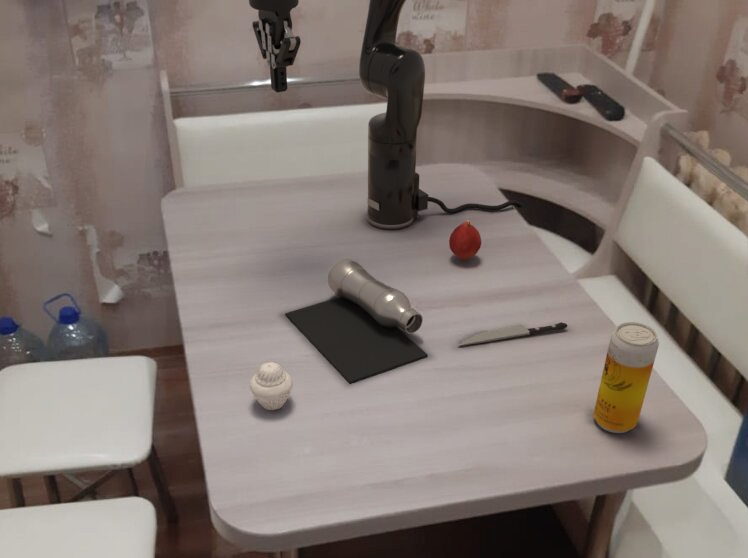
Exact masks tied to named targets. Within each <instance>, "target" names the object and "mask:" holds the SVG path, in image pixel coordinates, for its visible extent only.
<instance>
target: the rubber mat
mask: <svg viewBox="0 0 748 558" xmlns="http://www.w3.org/2000/svg"><path fill="white" fill-rule="evenodd" d="M284 314H285V317H286V318H288V320H289V321H290V322H291V323H292V324H293V325H294V327H296V328H297V329H298V330H299V331H300V332H301V333H302V335H304V337H305V338H306V339H307V341H309V342H310V343H311V344H312V346H314V347H315V348H316V349H317V351H318V352H319V353H320V354H321V355H322V356H323V357H324V358H325V359H326V361H328V362H329V363H330V364H331V366H332V367H333V368H334V369H335V370H336V371H337V372H338V373H339V374H340V375H341V376H342V377H343V378H344V379H345V380H346V382H347V383H348V384H353V383H357V382H359V381H362V380H364V379H368V378H371V377H373V376H377V375H379V374H381V373H384V372H388V371H390V370H393V369H397V368H399V367H402V366H404V365H407V364H411V363H413V362H417V361H419V360H421V359H424V358H427V357H428V353H427V352H426V351H425V350H423V349H422V348H421V347H420V346H419V345H418V344H417V343H415V342H414V341H413V339H411V338H410V337H409V336H408V335H407V334H406V333H405V332H403V330H401V329H400V328H399V327H396V328H388V327H384V326H381V325H380V324H379V323H378V322H377V321H376V320H375V319H374V318H373V317H372V316H371V315H370V314H369V313H368V312H366V311H365V310H364V309H363V308H361V307H360V306H359V305H357V304H356V303H354V302H352V301H350V300H348V299H345V298H343V297H340V296H338V297H335V298H331V299H327V300H325V301H322V302H319V303H314V304H312V305H308V306H305V307H301V308H298V309H295V310H292V311H287V312H285V313H284Z"/></svg>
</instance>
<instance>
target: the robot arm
mask: <svg viewBox="0 0 748 558" xmlns="http://www.w3.org/2000/svg"><path fill="white" fill-rule="evenodd" d="M406 2H407V0H369V3H368V10H367V16H366V22H365V28H364V34H363V39H362V40H363V41H362V44H361V50H360V56H359V64H358V70H359V71H358V76H359V82H360V84H361V87H362V88H363V90H364V91H365V92H367V93H369V94H371V95H373V96H376V97H379V98H382V99H386V111H385V112H382V113H378V114H376V115H373V116H372V117H371V118H370V119H369V120H368V123H367V212H366V213H367V214H366V220H367V222H368V223H369V224H370V225H372V226H373V227H376V228H379V229H382V230H383V229H384V230H398V229H404V228H406V227H409V226H410V225H412V224H413V223H414V221H418V220H419V219H418V217H419V212H421V211H426V210H428V208H429V207H428V206H429V202H430V203H433V204H436V205H438V206H439V207H440V209H441V210H442V211H443V212H444V213H447V214H457V213H459V212H462V211H464V210H468V209H474V210H475V209H476V210H482V211H495V212H496V211H502V210H503V209H506V208H508V207H511V206H516V207H517V208H520V209H521V208H524V205H523V204H522V203H521V202H520V201H518V200H516V199H512V200H507V201H506V202H504V203H501V204H498V205H489V204H482V203H472V202H471V203H465V204H462V205H459V206H456V207H454V208H448V207H447V205H446V204H445V203H444V202H443V200H441V199H438V198H436V197H432V196H429V194H428V193H427V192H425V191H424V190H422V189H420V174H419V173H418V172H417V171H416V167H417V165H416V164H417V141H418V128H419V125H420V122H421V118H422V115H423V114H422V113H423V104H424V93H425V83H426V65H425V60H424V58H423V56H422V54H421V53H420V52H419V51H417V50H416V49H414V48H411V47H407V46H403V45H399V44H397V43H396V42H397V33H398V25H399V20H400V16H401V14H402V10H403V7H404V6H405V3H406ZM248 4H249V6H250V8H252V9H254V10H256V11H258V13H257V16H258V20H256V21H252V30H253V33H254V36H255V38H256V41H257V44H258V48H259V51H260V54H261V56H262V59H263V60H266V63H267V66H268V67H269V74H270V75H269V76H270V88H271V90H273V91H274V92H275V93H283V92H286V91H287V90H288V76H287V75H288V73H287V68H288V67H291V66H293V65H294V63H295V61H296V58H297V54H298V52H299V49H300V46H301V41H302V40H301V37H300V36H299V35H298V36H297V35H296V36H294V33H293V21H292V16H291V11H292V10H293V9H294V8H297V7H298V5H299V0H248Z"/></svg>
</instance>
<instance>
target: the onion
mask: <svg viewBox="0 0 748 558" xmlns="http://www.w3.org/2000/svg"><path fill="white" fill-rule="evenodd" d="M481 237H482V236H481V234H480V232H479V230H478V229H477V228H476V227H475V226H474V225H472V224H471V220H469V219H468V220H465V221H464V222H462V223H460V224H459V225H457V226H456V227H455V228H454V229H453V230H452V232H451V233H450V236H449V239H448V244H449V245H448V246H449V250H450V251H451V253H453V254H454V256H456V257H457V258H459V259H460V260H461V261H468V260H469V259H470V258H472V257H475V256H476V255H477V254H478V252H479V250H480V249H481V246H482V238H481Z"/></svg>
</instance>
